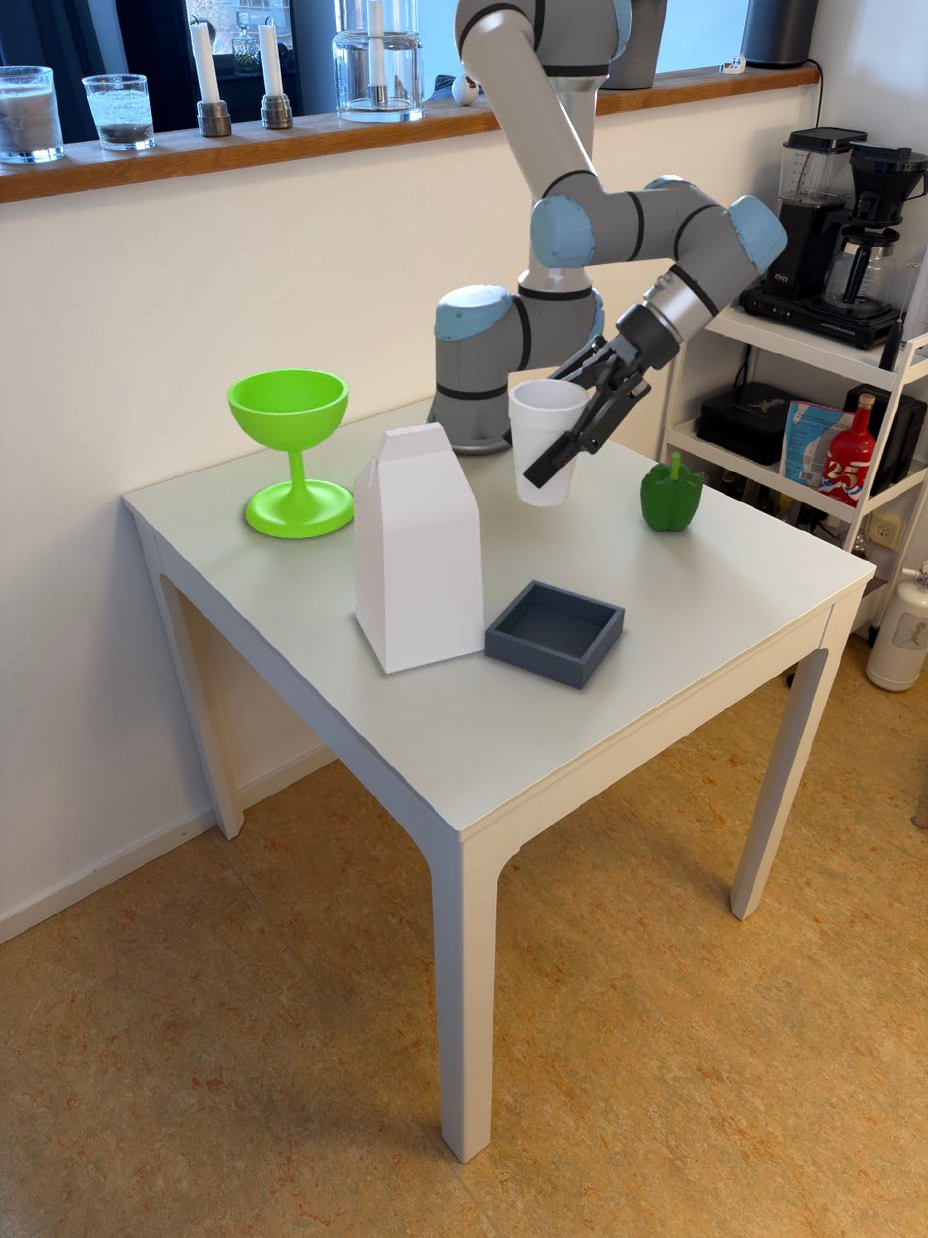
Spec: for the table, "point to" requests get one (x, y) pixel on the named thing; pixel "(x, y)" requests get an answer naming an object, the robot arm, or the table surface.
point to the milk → (417, 551)
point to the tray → (555, 633)
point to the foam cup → (543, 432)
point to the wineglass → (293, 447)
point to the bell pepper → (670, 496)
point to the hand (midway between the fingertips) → (519, 461)
